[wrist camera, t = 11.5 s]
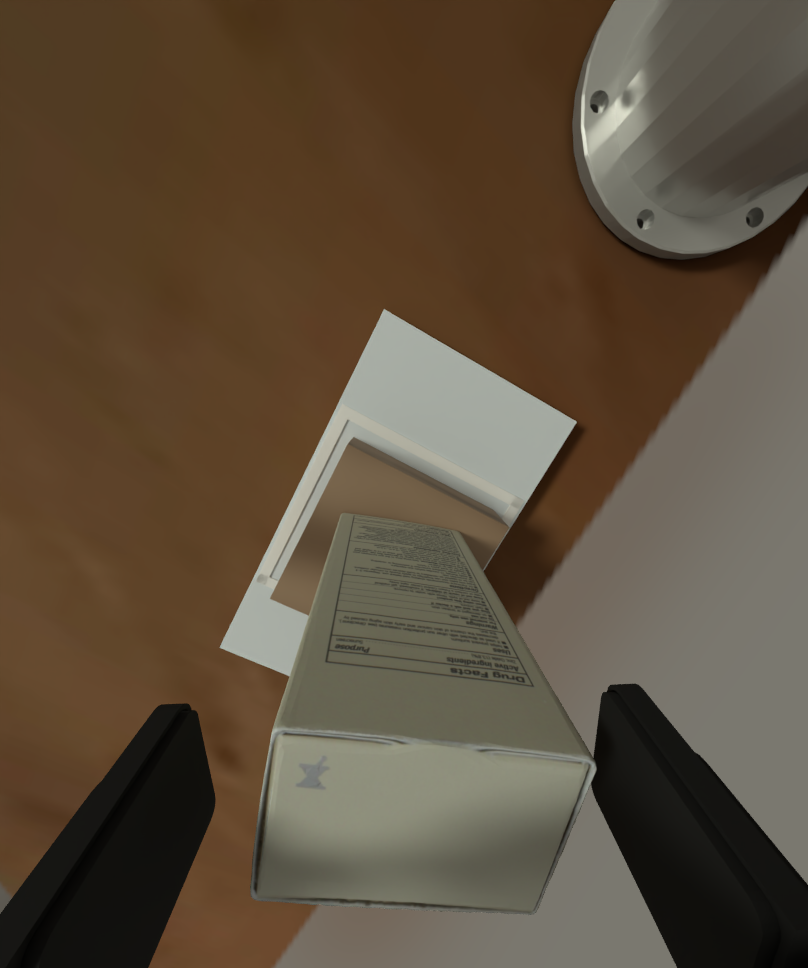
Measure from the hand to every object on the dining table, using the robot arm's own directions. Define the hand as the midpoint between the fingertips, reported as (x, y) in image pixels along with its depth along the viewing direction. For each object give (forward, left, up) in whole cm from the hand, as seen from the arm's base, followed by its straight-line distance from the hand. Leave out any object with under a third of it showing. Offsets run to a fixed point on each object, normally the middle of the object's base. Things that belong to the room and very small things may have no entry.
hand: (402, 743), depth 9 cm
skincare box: (0, 0, -11) cm, 11 cm away
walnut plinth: (0, 0, -13) cm, 13 cm away
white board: (0, 0, -15) cm, 14 cm away
